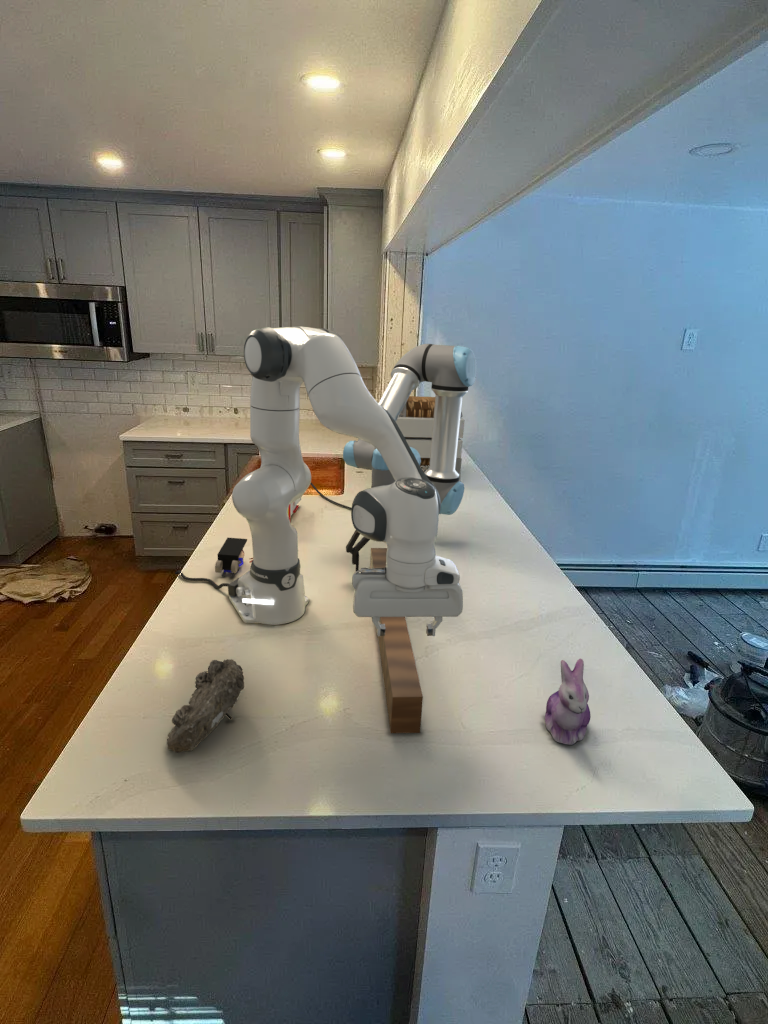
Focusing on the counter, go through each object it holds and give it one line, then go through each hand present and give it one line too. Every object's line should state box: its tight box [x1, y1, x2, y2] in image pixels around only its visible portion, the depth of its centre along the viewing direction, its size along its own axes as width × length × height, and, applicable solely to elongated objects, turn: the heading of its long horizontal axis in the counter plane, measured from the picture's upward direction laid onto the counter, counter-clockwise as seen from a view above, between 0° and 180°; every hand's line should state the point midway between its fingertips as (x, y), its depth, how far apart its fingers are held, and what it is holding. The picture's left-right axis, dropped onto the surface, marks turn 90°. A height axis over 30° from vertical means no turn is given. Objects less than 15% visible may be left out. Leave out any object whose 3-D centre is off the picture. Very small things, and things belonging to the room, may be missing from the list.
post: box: [369, 547, 424, 734], centre depth 137 cm, size 68×6×8 cm, turn 5°
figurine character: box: [214, 537, 248, 578], centre depth 166 cm, size 7×8×15 cm
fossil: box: [166, 658, 245, 754], centre depth 106 cm, size 22×10×15 cm
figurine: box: [544, 658, 592, 746], centre depth 106 cm, size 9×10×15 cm
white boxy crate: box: [396, 395, 465, 481], centre depth 268 cm, size 34×33×41 cm
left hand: (405, 634), depth 107 cm, fingers open, 8 cm apart
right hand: (380, 574), depth 162 cm, fingers open, 13 cm apart
